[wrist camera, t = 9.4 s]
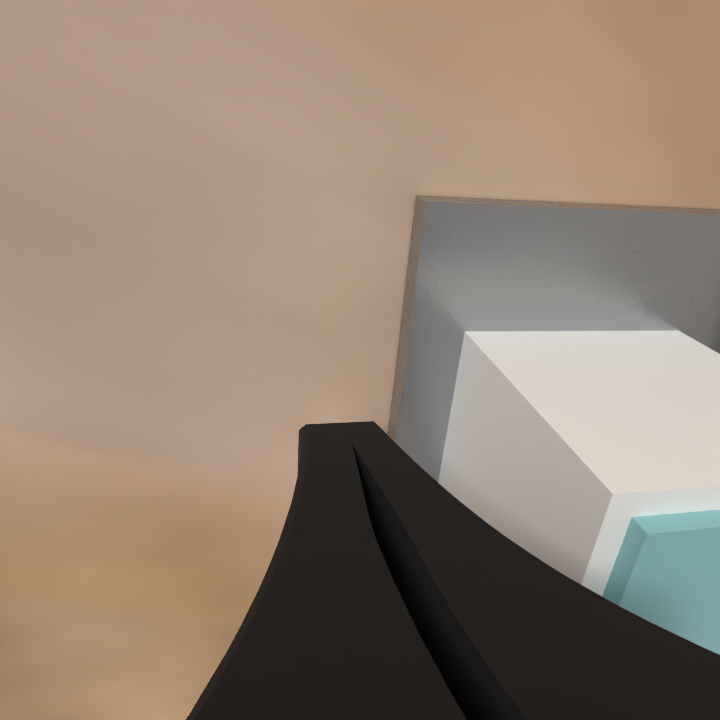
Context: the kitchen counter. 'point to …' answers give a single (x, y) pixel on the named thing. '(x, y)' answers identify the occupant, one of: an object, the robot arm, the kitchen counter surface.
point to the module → (598, 462)
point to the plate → (540, 288)
